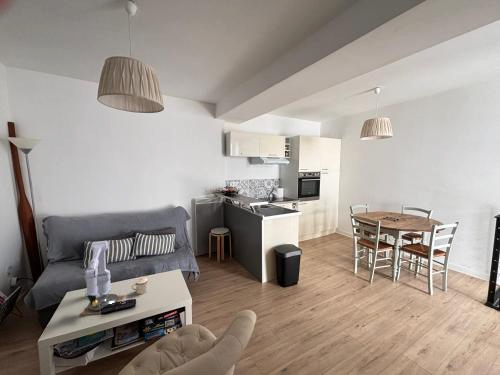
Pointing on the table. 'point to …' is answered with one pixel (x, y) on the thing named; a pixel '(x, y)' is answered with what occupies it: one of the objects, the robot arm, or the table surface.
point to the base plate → (89, 312)
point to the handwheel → (102, 302)
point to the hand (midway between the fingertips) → (92, 304)
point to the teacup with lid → (141, 286)
